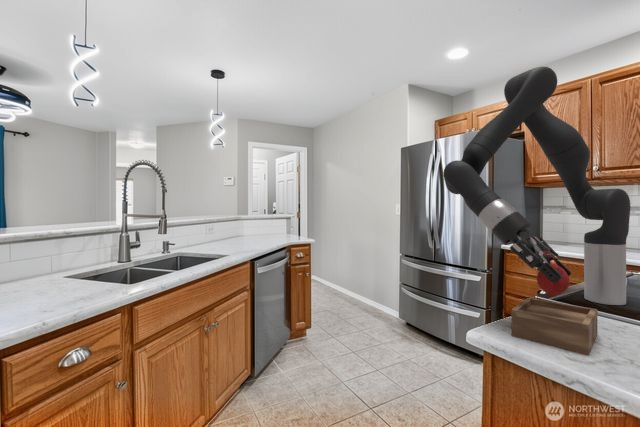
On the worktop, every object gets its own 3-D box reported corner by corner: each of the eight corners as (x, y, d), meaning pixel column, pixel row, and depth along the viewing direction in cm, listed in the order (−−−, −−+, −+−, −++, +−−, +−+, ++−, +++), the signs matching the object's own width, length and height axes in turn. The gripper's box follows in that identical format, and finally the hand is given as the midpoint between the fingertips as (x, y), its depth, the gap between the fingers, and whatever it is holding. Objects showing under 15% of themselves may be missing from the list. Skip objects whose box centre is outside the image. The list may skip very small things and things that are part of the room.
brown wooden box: (528, 322, 78) (527, 297, 78) (597, 337, 68) (597, 309, 68) (511, 337, 69) (511, 309, 69) (588, 357, 59) (588, 325, 59)
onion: (575, 301, 65) (576, 263, 65) (544, 299, 66) (545, 261, 66) (559, 294, 71) (560, 259, 71) (531, 292, 72) (532, 258, 72)
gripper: (502, 211, 70) (568, 272, 60) (527, 210, 78) (588, 264, 69) (478, 233, 74) (536, 294, 65) (504, 230, 83) (559, 283, 73)
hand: (563, 278), depth 67 cm, fingers closed on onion, 5 cm apart
